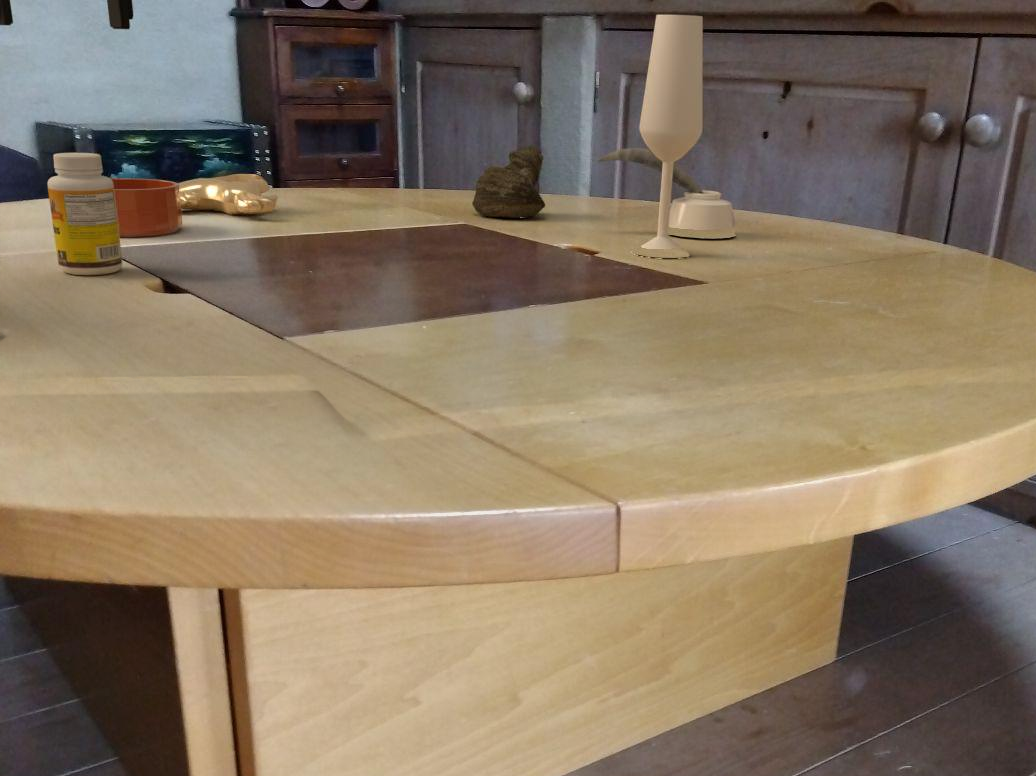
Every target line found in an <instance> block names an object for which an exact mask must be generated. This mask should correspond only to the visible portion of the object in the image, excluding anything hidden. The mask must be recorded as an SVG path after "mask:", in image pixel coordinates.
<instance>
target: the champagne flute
mask: <svg viewBox="0 0 1036 776" xmlns="http://www.w3.org/2000/svg"><path fill="white" fill-rule="evenodd" d="M703 25H704V24H703V16H701V15H691V14H690V15H689V14H656V15H655V21H654V28H653V33H652V34H653V35H652V41H651V48H650V55H649V60H648V61H649V62H648V67H647V68H648V69H647V74H646V79H645V80H646V81H645V87H644V94H643V99H642V107H641V113H640V121H639V127H638V128H639V134H640V135H641V138H642V140H643V142H644V143H645V145H646V146H647V148H648V150H651V151H652V152H653V154H654V155H655V156H656V157H657V158H658V159H660V160H661V161H662V162H663V165H662V172H661V179H660V182H661V183H660V195H659V205H658V206H659V208H658V221H657V231H656V232H657V234H656V236H655V237H653V238H651V239H650V240H648V241H647V242H645V243H643V244H642V245H640V246H641V247H642V248H646V249H672V248H676V247H679V246H680V244H678V243H677V242H675V241H674V240H673V239H671V237H669V235H668V227H669V215H670V206H671V203H672V190H673V189H672V188H673V181H672V177H673V164H674V162H675V163H676V162H677V161H678V160H680V159H682V158H683V157H684V156H685V155H686V154H687V153H688V152H689V151H690V150H691V149H692V148H693V147H694V146H695V145H696V144H697V142H698V141H699V139H700V138H701V136H702V133H703V99H704V98H703V96H704V95H703V94H704V93H703V91H704V90H703V89H704V88H703V87H704V85H703V84H704V83H703V75H704V74H703V59H704V58H703V57H704V56H703V52H704V51H703V49H704V48H703V45H704V44H703V43H704V42H703V39H704V37H703V31H704V29H703V27H704V26H703ZM630 253H631V255H634V256H637V257H639V256H638V255H635V254H633V253H632V251H631V252H630ZM640 257H642V258H644V257H643V256H640ZM646 258H649V259H651V258H650V257H646ZM688 258H689V257H687V258H686V259H688ZM656 259H657V260H658V259H660V260H663V259H662V258H656ZM680 259H681V260H682V259H683V258H678V259H677V260H680Z"/></svg>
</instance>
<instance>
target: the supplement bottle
mask: <svg viewBox="0 0 1036 776" xmlns="http://www.w3.org/2000/svg"><path fill="white" fill-rule="evenodd" d="M52 157H53V168H54V172H55V173H56V174H57V175H54V176H51V177H50V178H49V179H48V180H47V192H48V197H49V198H48V199H49V206H50V213H51V220H52V230H53V235H54V243H55V250H56V257H57V264H58V268H59V270H61V271H62V272H64V273H66V274H69V275H76V276H101V275H108V274H112V273H113V274H114V273H116V272H119V271H120V270H121V269H122V267H123V255H122V246H121V239H120V238H121V237H119V228H118V219H117V210H116V202H115V193H114V184H113V181H112V180H111V179H112V178H110V177H108V176H105V175H102V174H103V172H104V169H103V163H102V156H101V154H99V153H92V152H59V153H54V154H53V156H52Z"/></svg>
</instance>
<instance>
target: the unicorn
mask: <svg viewBox="0 0 1036 776" xmlns="http://www.w3.org/2000/svg"><path fill="white" fill-rule="evenodd" d="M177 183H178V184H179V190H180V201H181V210H193V211H194V210H196V211H210V210H214V211H213V212H220V211H221V213H226V214H227V215H232V214H233V215H248V214H249V215H260V214H266V213H270V212H272V211H274V210H275V209H276V207H277V202H278V200H279V198H278V195H277V194H276V193H275V194H271V195H268V196H267V195H261V194H264V193H267V192H268V191H270V185H269V184H268V182H267V180H265V179H264V178H263V176H261V175H259V174H251V173H235V174H229V175H223V176H217V177H210V178H209V177H208V178H207V177H199V178H194V179H190V180H189V179H188V180H185V181H182V182H177Z"/></svg>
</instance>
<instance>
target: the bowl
mask: <svg viewBox="0 0 1036 776" xmlns="http://www.w3.org/2000/svg"><path fill="white" fill-rule="evenodd" d="M110 179H111V180H112V181H113V184H114V193H115V202H116V210H117V219H118V228H119V237H120V238H142V237H143V238H144V237H155V236H163V235H170V234H173V233H176V232H178V231H179V227H181V226H183V214H182V209H181V201H180V190H179V184H178V183H179V182H175V181H172V180H164V179H154V178H153V179H152V178H132V177H131V178H125V177H124V178H123V177H122V178H118V177H117V178H115V177H114V178H110Z"/></svg>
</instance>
